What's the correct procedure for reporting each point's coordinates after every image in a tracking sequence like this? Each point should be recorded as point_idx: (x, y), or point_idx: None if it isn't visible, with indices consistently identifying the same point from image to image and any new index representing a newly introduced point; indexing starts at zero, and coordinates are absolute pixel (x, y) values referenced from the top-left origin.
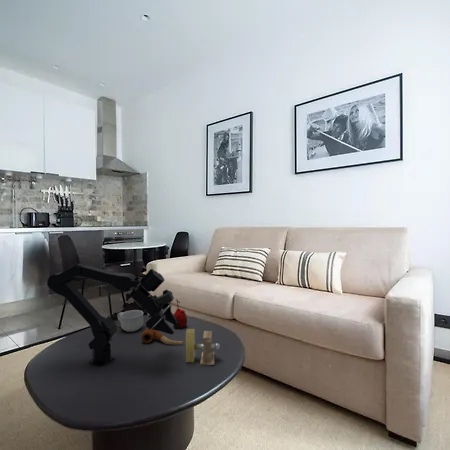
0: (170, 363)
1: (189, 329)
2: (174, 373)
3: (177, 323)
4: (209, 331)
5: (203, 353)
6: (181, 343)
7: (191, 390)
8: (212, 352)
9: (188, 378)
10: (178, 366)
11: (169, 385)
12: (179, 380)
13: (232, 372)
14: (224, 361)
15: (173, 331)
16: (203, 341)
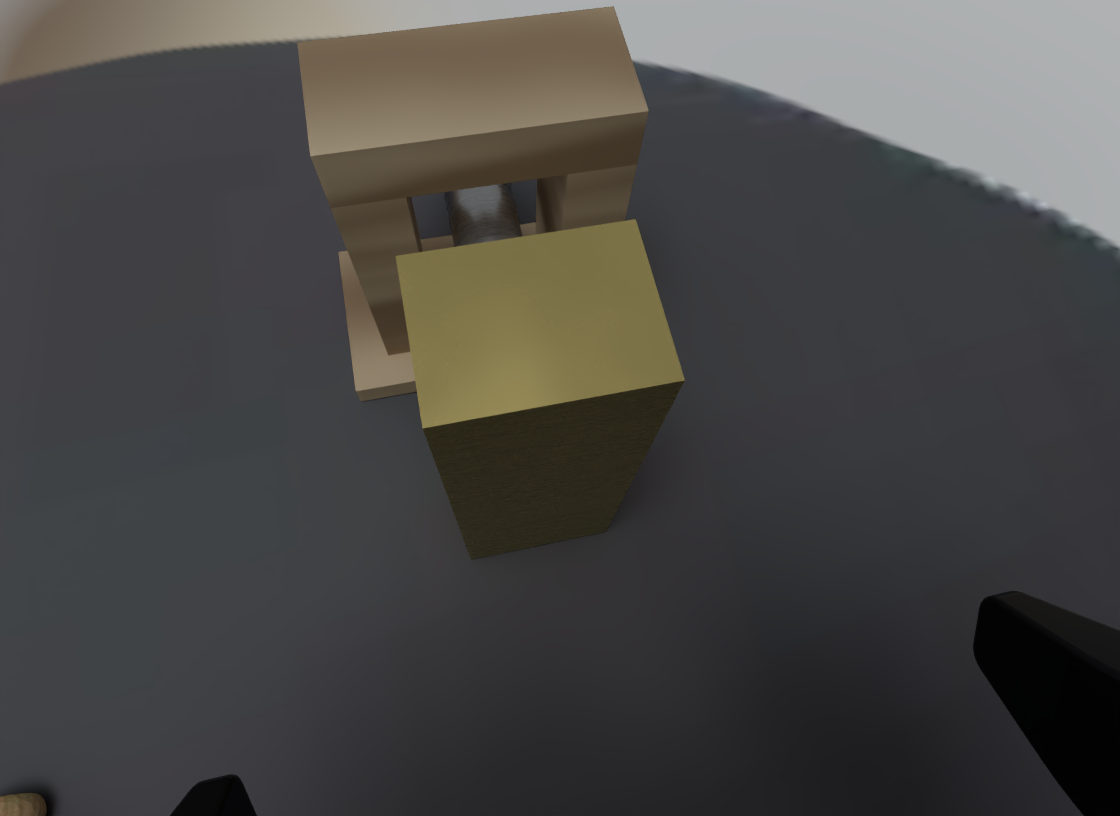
0: (672, 732)
1: (454, 361)
2: (875, 580)
3: (239, 784)
4: (329, 72)
5: None
6: (37, 803)
7: (1068, 321)
8: (352, 271)
9: (908, 400)
10: (716, 592)
11: (1096, 544)
12: (976, 476)
13: (682, 72)
14: None
15: (1018, 607)
16: (638, 149)
